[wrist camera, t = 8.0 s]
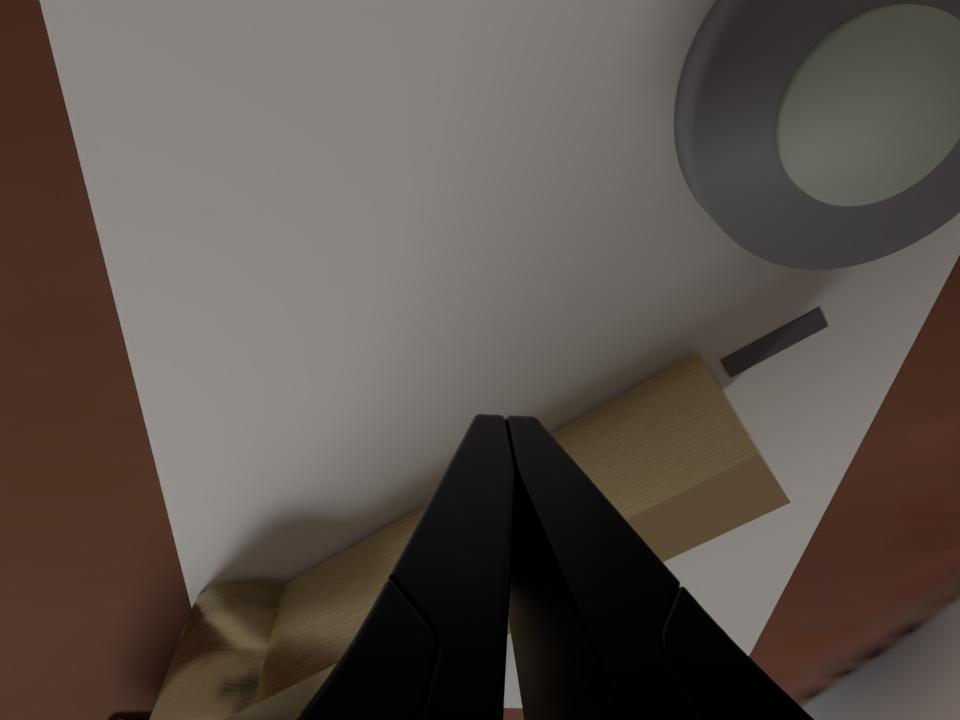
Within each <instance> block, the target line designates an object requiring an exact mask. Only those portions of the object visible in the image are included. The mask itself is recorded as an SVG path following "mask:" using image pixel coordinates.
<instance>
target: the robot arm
mask: <svg viewBox="0 0 960 720" xmlns="http://www.w3.org/2000/svg"><path fill="white" fill-rule="evenodd" d="M679 587H680V581H679V580H678V579H677V578H676V577H675V576H674V574H673V573H672V572H671V571H670V570H669V569H668V568H667V566H666V565H665V564H664V563H663V562H662V561H661V560H660V558H659V557H658V556H657V555H656V554H655V553H654V552H653V550H652V549H651V548H650V547H649V546H648V545H647V544H646V542H645V541H644V540H643V539H642V538H641V537H640V536H639V534H638V533H637V532H636V531H635V530H634V529H633V528H632V526H631V525H630V524H629V523H628V522H627V521H626V520H625V518H624V517H623V516H622V515H621V514H620V513H619V512H618V510H617V509H616V508H615V507H614V506H613V505H612V504H611V502H610V501H609V500H608V499H607V498H606V497H605V496H604V494H603V493H602V492H601V491H600V490H599V489H598V488H597V486H596V485H595V484H594V483H593V482H592V481H591V480H590V478H589V477H588V476H587V475H586V474H585V473H584V472H583V470H582V469H581V468H580V467H579V466H578V465H577V464H576V462H575V461H574V460H573V459H572V458H571V457H570V456H569V454H568V453H567V452H566V451H565V450H564V449H563V448H562V446H561V445H560V444H559V443H558V442H557V441H556V440H555V438H554V437H553V436H552V435H551V434H550V433H549V432H548V430H547V429H546V428H545V427H544V426H543V425H542V424H541V422H540V421H539V420H538V419H537V418H535V417H533V416H517V415H509V416H508V417H507V418H506V419H505V418H504V417H503V416H502V415H493V414H477V415H476V416H475V417H474V418H473V420H472V422H471V424H470V425H469V427H468V429H467V431H466V433H465V435H464V437H463V439H462V440H461V442H460V444H459V446H458V448H457V450H456V452H455V454H454V455H453V457H452V459H451V461H450V463H449V465H448V467H447V468H446V470H445V472H444V474H443V476H442V478H441V480H440V482H439V483H438V485H437V487H436V489H435V491H434V493H433V495H432V496H431V498H430V500H429V502H428V504H427V506H426V508H425V510H424V511H423V513H422V515H421V517H420V519H419V521H418V523H417V524H416V526H415V528H414V530H413V532H412V534H411V536H410V538H409V539H408V541H407V543H406V545H405V547H404V549H403V551H402V552H401V554H400V556H399V558H398V560H397V562H396V564H395V566H394V567H393V569H392V571H391V573H390V575H389V578H388V580H387V581H386V582H385V584H384V585H383V587H382V589H381V591H380V593H379V595H378V597H377V598H376V600H375V602H374V604H373V606H372V607H371V609H370V611H369V613H368V614H367V616H366V618H365V619H364V621H363V623H362V625H361V626H360V628H359V630H358V631H357V633H356V635H355V636H354V638H353V640H352V641H351V643H350V644H349V646H348V647H347V649H346V650H345V652H344V653H343V655H342V656H341V658H340V659H339V661H338V662H337V663H336V665H335V666H334V668H333V669H332V671H331V672H330V674H329V675H328V677H327V678H326V680H325V681H324V682H323V684H322V685H321V687H320V688H319V689H318V691H317V692H316V693H315V695H314V696H313V697H312V699H311V700H310V702H309V703H308V704H307V706H306V707H305V708H304V710H303V711H302V713H301V714H300V715H299V717H298V718H297V719H296V720H503V712H504V693H505V674H506V655H507V636H508V619H509V625H510V632H511V638H512V644H513V651H514V657H515V664H516V670H517V677H518V683H519V689H520V696H521V702H522V709H523V715H524V720H814V719H813V718H812V717H811V716H810V715H808V714H807V712H805V711H804V710H803V709H802V708H801V707H800V706H799V705H798V704H797V703H796V702H795V701H794V700H793V699H792V698H791V697H790V696H789V695H788V694H787V693H786V692H784V691H783V690H782V689H781V688H780V687H779V686H778V685H777V684H776V683H775V682H774V681H773V680H772V679H771V678H770V677H769V676H768V675H767V674H766V673H765V672H764V671H763V670H762V669H761V668H760V667H759V666H758V665H757V664H756V663H755V662H754V661H753V660H752V659H751V658H750V657H749V656H748V655H747V654H746V653H745V652H744V651H743V650H742V649H741V648H740V647H739V646H738V645H737V644H736V643H735V642H734V641H733V640H732V639H731V638H730V637H729V636H728V635H727V633H726V632H725V631H724V630H723V629H722V628H721V627H720V626H719V625H718V624H717V623H716V621H715V620H714V619H713V618H712V617H711V616H710V615H709V614H708V613H707V612H706V611H705V610H704V608H703V607H702V606H701V605H700V604H699V603H698V602H697V600H696V599H695V598H694V597H693V596H692V595H691V594H690V592H689V591H688V590H687V589H686V588H685V587H683V586H682V587H680V588H679Z"/></svg>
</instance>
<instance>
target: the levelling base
mask: <svg viewBox="0 0 960 720" xmlns="http://www.w3.org/2000/svg"><path fill="white" fill-rule="evenodd" d="M40 4H41V8H42V12H43V16H44V20H45V24H46V28H47V32H48V36H49V40H50V44H51V48H52V52H53V56H54V60H55V64H56V68H57V72H58V76H59V80H60V84H61V88H62V92H63V96H64V100H65V104H66V108H67V112H68V116H69V120H70V124H71V128H72V132H73V136H74V140H75V144H76V148H77V152H78V156H79V160H80V164H81V168H82V172H83V176H84V180H85V184H86V188H87V192H88V196H89V200H90V204H91V208H92V212H93V216H94V220H95V224H96V228H97V232H98V236H99V240H100V244H101V248H102V252H103V256H104V260H105V264H106V268H107V272H108V276H109V280H110V284H111V288H112V292H113V296H114V300H115V304H116V308H117V312H118V316H119V320H120V324H121V328H122V332H123V336H124V340H125V344H126V348H127V352H128V356H129V360H130V364H131V368H132V372H133V376H134V380H135V384H136V388H137V392H138V396H139V400H140V404H141V408H142V412H143V416H144V420H145V424H146V428H147V432H148V436H149V440H150V444H151V448H152V452H153V456H154V460H155V464H156V468H157V472H158V476H159V480H160V484H161V488H162V492H163V496H164V500H165V504H166V508H167V512H168V516H169V520H170V524H171V528H172V532H173V536H174V540H175V544H176V548H177V552H178V556H179V560H180V564H181V568H182V572H183V576H184V580H185V584H186V588H187V592H188V596H189V600H190V604H191V608H192V606H193V604H194V602H195V601H196V600H197V598H198V597H199V596H200V595H201V594H203V593H204V592H205V591H207V590H209V589H211V588H213V587H215V586H217V585H220V584H223V583H227V582H232V581H238V580H261V581H269V582H274V583H278V584H282V585H285V584H287V583H288V582H290V581H292V580H294V579H295V578H297V577H299V576H301V575H303V574H304V573H306V572H308V571H310V570H311V569H313V568H315V567H317V566H319V565H320V564H322V563H324V562H326V561H327V560H329V559H331V558H333V557H334V556H336V555H338V554H340V553H342V552H343V551H345V550H347V549H349V548H350V547H352V546H354V545H356V544H358V543H359V542H361V541H363V540H365V539H366V538H368V537H370V536H372V535H374V534H375V533H377V532H379V531H381V530H382V529H384V528H386V527H388V526H389V525H391V524H393V523H395V522H397V521H398V520H400V519H402V518H404V517H405V516H407V515H409V514H411V513H413V512H414V511H416V510H418V509H420V508H421V507H423V506H425V505H427V504H428V502H429V500H430V498H431V496H432V495H433V493H434V491H435V489H436V487H437V485H438V483H439V482H440V480H441V478H442V476H443V474H444V472H445V470H446V468H447V467H448V465H449V463H450V461H451V459H452V457H453V455H454V454H455V452H456V450H457V448H458V446H459V444H460V442H461V440H462V439H463V437H464V435H465V433H466V431H467V429H468V427H469V425H470V424H471V422H472V420H473V418H474V417H475V416H476V415H477V414H493V415H502V416H503V417H504V418H505V419H506V418H507V417H508V416H509V415H517V416H533V417H535V418H537V419H538V420H539V421H540V422H541V424H542V425H543V426H544V427H545V428H546V429H547V430H548V432H549V433H550V434H553V433H555V432H556V431H558V430H560V429H562V428H563V427H565V426H567V425H569V424H571V423H572V422H574V421H576V420H578V419H579V418H581V417H583V416H585V415H586V414H588V413H590V412H592V411H594V410H595V409H597V408H599V407H601V406H602V405H604V404H606V403H608V402H610V401H611V400H613V399H615V398H617V397H618V396H620V395H622V394H624V393H626V392H627V391H629V390H631V389H633V388H634V387H636V386H638V385H640V384H642V383H643V382H645V381H647V380H649V379H650V378H652V377H654V376H656V375H657V374H659V373H661V372H663V371H665V370H666V369H668V368H670V367H672V366H673V365H675V364H677V363H679V362H681V361H682V360H684V359H686V358H688V357H689V356H691V355H693V354H695V353H697V352H699V353H700V355H701V357H702V358H703V360H704V361H705V363H706V364H707V366H708V367H709V369H710V371H711V372H712V374H713V375H714V377H715V378H716V380H717V381H718V383H719V385H720V386H721V388H722V389H723V391H724V392H725V394H726V395H727V397H728V399H729V400H730V402H731V404H732V405H733V407H734V409H735V410H736V412H737V414H738V415H739V417H740V419H741V420H742V422H743V424H744V425H745V427H746V429H747V430H748V432H749V434H750V436H751V437H752V439H753V441H754V442H755V444H756V446H757V447H758V449H759V451H760V452H761V454H762V456H763V457H764V459H765V461H766V462H767V464H768V466H769V467H770V469H771V471H772V472H773V474H774V476H775V477H776V479H777V481H778V482H779V484H780V486H781V487H782V489H783V491H784V492H785V494H786V496H787V497H788V499H789V501H790V502H791V503H789V504H787V505H784V506H782V507H780V508H778V509H776V510H774V511H772V512H769V513H767V514H765V515H763V516H761V517H759V518H757V519H754V520H752V521H750V522H748V523H746V524H744V525H742V526H739V527H737V528H735V529H733V530H731V531H729V532H727V533H724V534H722V535H720V536H718V537H716V538H714V539H712V540H709V541H707V542H705V543H703V544H701V545H699V546H697V547H694V548H692V549H690V550H688V551H686V552H684V553H682V554H679V555H677V556H675V557H673V558H671V559H669V560H667V561H664V562H663V563H664V564H665V565H666V566H667V568H668V569H669V570H670V571H671V572H672V573H673V574H674V576H675V577H676V578H677V579H678V580H679V581H680V587H682V586H683V587H685V588H686V589H687V590H688V591H689V592H690V594H691V595H692V596H693V597H694V598H695V599H696V600H697V602H698V603H699V604H700V605H701V606H702V607H703V608H704V610H705V611H706V612H707V613H708V614H709V615H710V616H711V617H712V618H713V619H714V620H715V621H716V623H717V624H718V625H719V626H720V627H721V628H722V629H723V630H724V631H725V632H726V633H727V635H728V636H729V637H730V638H731V639H732V640H733V641H734V642H735V643H736V644H737V645H738V646H739V647H740V648H741V649H742V650H743V651H744V652H745V653H746V654H747V655H748V656H749V655H750V653H751V651H752V649H753V648H754V646H755V644H756V642H757V640H758V638H759V636H760V634H761V632H762V630H763V628H764V627H765V625H766V623H767V621H768V619H769V617H770V615H771V613H772V611H773V609H774V607H775V606H776V604H777V602H778V600H779V598H780V596H781V594H782V592H783V590H784V588H785V587H786V585H787V583H788V581H789V579H790V577H791V575H792V573H793V571H794V569H795V567H796V566H797V564H798V562H799V560H800V558H801V556H802V554H803V552H804V550H805V548H806V547H807V545H808V543H809V541H810V539H811V537H812V535H813V533H814V531H815V529H816V527H817V526H818V524H819V522H820V520H821V518H822V516H823V514H824V512H825V510H826V508H827V507H828V505H829V503H830V501H831V499H832V497H833V495H834V493H835V491H836V489H837V487H838V486H839V484H840V482H841V480H842V478H843V476H844V474H845V472H846V470H847V468H848V467H849V465H850V463H851V461H852V459H853V457H854V455H855V453H856V451H857V449H858V447H859V446H860V444H861V442H862V440H863V438H864V436H865V434H866V432H867V430H868V428H869V427H870V425H871V423H872V421H873V419H874V417H875V415H876V413H877V411H878V409H879V407H880V406H881V404H882V402H883V400H884V398H885V396H886V394H887V392H888V390H889V388H890V387H891V385H892V383H893V381H894V379H895V377H896V375H897V373H898V371H899V369H900V367H901V366H902V364H903V362H904V360H905V358H906V356H907V354H908V352H909V350H910V348H911V347H912V345H913V343H914V341H915V339H916V337H917V335H918V333H919V331H920V329H921V327H922V326H923V324H924V322H925V320H926V318H927V316H928V314H929V312H930V310H931V308H932V307H933V305H934V303H935V301H936V299H937V297H938V295H939V293H940V291H941V289H942V287H943V286H944V284H945V282H946V280H947V278H948V276H949V274H950V272H951V270H952V268H953V266H954V265H955V263H956V261H957V259H958V257H959V255H960V0H40ZM680 587H679V588H680ZM504 708H522V702H521V696H520V689H519V683H518V677H517V670H516V664H515V657H514V651H513V644H512V638H511V633H510V634H508V636H507V655H506V674H505V693H504Z"/></svg>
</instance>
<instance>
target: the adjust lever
mask: <svg viewBox="0 0 960 720" xmlns="http://www.w3.org/2000/svg"><path fill="white" fill-rule="evenodd" d="M551 435H552V436H553V437H554V438H555V440H556V441H557V442H558V443H559V444H560V445H561V446H562V448H563V449H564V450H565V451H566V452H567V453H568V454H569V456H570V457H571V458H572V459H573V460H574V461H575V462H576V464H577V465H578V466H579V467H580V468H581V469H582V470H583V472H584V473H585V474H586V475H587V476H588V477H589V478H590V480H591V481H592V482H593V483H594V484H595V485H596V486H597V488H598V489H599V490H600V491H601V492H602V493H603V494H604V496H605V497H606V498H607V499H608V500H609V501H610V502H611V504H612V505H613V506H614V507H615V508H616V509H617V510H618V512H619V513H620V514H621V515H622V516H623V517H624V518H625V520H626V521H627V522H628V523H629V524H630V525H631V526H632V528H633V529H634V530H635V531H636V532H637V533H638V534H639V536H640V537H641V538H642V539H643V540H644V541H645V542H646V544H647V545H648V546H649V547H650V548H651V549H652V550H653V552H654V553H655V554H656V555H657V556H658V557H659V558H660V560H661V561H662V562H664V561H667V560H669V559H671V558H673V557H675V556H677V555H679V554H682V553H684V552H686V551H688V550H690V549H692V548H694V547H697V546H699V545H701V544H703V543H705V542H707V541H709V540H712V539H714V538H716V537H718V536H720V535H722V534H724V533H727V532H729V531H731V530H733V529H735V528H737V527H739V526H742V525H744V524H746V523H748V522H750V521H752V520H754V519H757V518H759V517H761V516H763V515H765V514H767V513H769V512H772V511H774V510H776V509H778V508H780V507H782V506H784V505H787V504H789V503H791V502H790V501H789V499H788V497H787V496H786V494H785V492H784V491H783V489H782V487H781V486H780V484H779V482H778V481H777V479H776V477H775V476H774V474H773V472H772V471H771V469H770V467H769V466H768V464H767V462H766V461H765V459H764V457H763V456H762V454H761V452H760V451H759V449H758V447H757V446H756V444H755V442H754V441H753V439H752V437H751V436H750V434H749V432H748V430H747V429H746V427H745V425H744V424H743V422H742V420H741V419H740V417H739V415H738V414H737V412H736V410H735V409H734V407H733V405H732V404H731V402H730V400H729V399H728V397H727V395H726V394H725V392H724V391H723V389H722V388H721V386H720V385H719V383H718V381H717V380H716V378H715V377H714V375H713V374H712V372H711V371H710V369H709V367H708V366H707V364H706V363H705V361H704V360H703V358H702V357H701V355H700V353H699V352H697V353H695V354H693V355H691V356H689V357H688V358H686V359H684V360H682V361H681V362H679V363H677V364H675V365H673V366H672V367H670V368H668V369H666V370H665V371H663V372H661V373H659V374H657V375H656V376H654V377H652V378H650V379H649V380H647V381H645V382H643V383H642V384H640V385H638V386H636V387H634V388H633V389H631V390H629V391H627V392H626V393H624V394H622V395H620V396H618V397H617V398H615V399H613V400H611V401H610V402H608V403H606V404H604V405H602V406H601V407H599V408H597V409H595V410H594V411H592V412H590V413H588V414H586V415H585V416H583V417H581V418H579V419H578V420H576V421H574V422H572V423H571V424H569V425H567V426H565V427H563V428H562V429H560V430H558V431H556V432H555V433H553V434H551ZM426 506H427V505H425V506H423V507H421V508H420V509H418V510H416V511H414V512H413V513H411V514H409V515H407V516H405V517H404V518H402V519H400V520H398V521H397V522H395V523H393V524H391V525H389V526H388V527H386V528H384V529H382V530H381V531H379V532H377V533H375V534H374V535H372V536H370V537H368V538H366V539H365V540H363V541H361V542H359V543H358V544H356V545H354V546H352V547H350V548H349V549H347V550H345V551H343V552H342V553H340V554H338V555H336V556H334V557H333V558H331V559H329V560H327V561H326V562H324V563H322V564H320V565H319V566H317V567H315V568H313V569H311V570H310V571H308V572H306V573H304V574H303V575H301V576H299V577H297V578H295V579H294V580H292V581H290V582H288V583H287V584H285V585H282V584H278V583H274V582H269V581H261V580H238V581H232V582H227V583H223V584H220V585H217V586H215V587H213V588H211V589H209V590H207V591H205V592H204V593H203V594H201V595H200V596H199V597H198V598H197V600H196V601H195V602H194V604H193V606H192V609H191V611H190V614H189V617H188V619H187V622H186V624H185V627H184V630H183V632H182V635H181V638H180V640H179V643H178V645H177V648H176V651H175V653H174V656H173V659H172V661H171V664H170V666H169V669H168V672H167V674H166V677H165V680H164V682H163V685H162V687H161V690H160V693H159V695H158V698H157V701H156V703H155V706H154V708H153V711H152V714H151V716H150V719H149V720H296V719H297V718H298V717H299V715H300V714H301V713H302V711H303V710H304V708H305V707H306V706H307V704H308V703H309V702H310V700H311V699H312V697H313V696H314V695H315V693H316V692H317V691H318V689H319V688H320V687H321V685H322V684H323V682H324V681H325V680H326V678H327V677H328V675H329V674H330V672H331V671H332V669H333V668H334V666H335V665H336V663H337V662H338V661H339V659H340V658H341V656H342V655H343V653H344V652H345V650H346V649H347V647H348V646H349V644H350V643H351V641H352V640H353V638H354V636H355V635H356V633H357V631H358V630H359V628H360V626H361V625H362V623H363V621H364V619H365V618H366V616H367V614H368V613H369V611H370V609H371V607H372V606H373V604H374V602H375V600H376V598H377V597H378V595H379V593H380V591H381V589H382V587H383V585H384V584H385V582H386V581H387V580H388V578H389V575H390V573H391V571H392V569H393V567H394V566H395V564H396V562H397V560H398V558H399V556H400V554H401V552H402V551H403V549H404V547H405V545H406V543H407V541H408V539H409V538H410V536H411V534H412V532H413V530H414V528H415V526H416V524H417V523H418V521H419V519H420V517H421V515H422V513H423V511H424V510H425V508H426ZM510 633H511V632H510V625H509V619H508V634H510Z"/></svg>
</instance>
